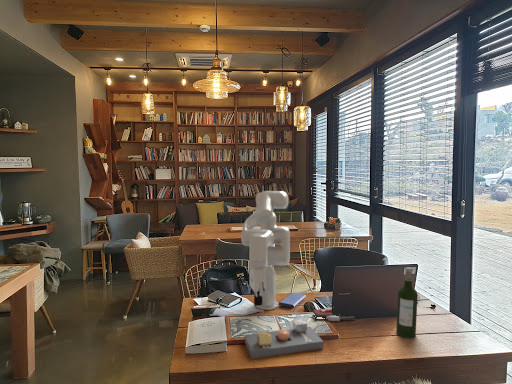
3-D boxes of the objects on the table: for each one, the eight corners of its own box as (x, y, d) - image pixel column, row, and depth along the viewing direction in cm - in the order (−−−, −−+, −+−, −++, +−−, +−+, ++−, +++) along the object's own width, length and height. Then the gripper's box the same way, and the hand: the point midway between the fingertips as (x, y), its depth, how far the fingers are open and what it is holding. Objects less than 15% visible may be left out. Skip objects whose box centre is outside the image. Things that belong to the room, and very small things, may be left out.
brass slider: (256, 341, 139) (256, 332, 139) (268, 339, 141) (268, 331, 140) (259, 346, 135) (259, 337, 135) (271, 344, 137) (271, 336, 136)
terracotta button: (275, 336, 145) (275, 330, 144) (286, 335, 146) (286, 328, 146) (279, 342, 140) (279, 335, 140) (290, 340, 141) (290, 334, 141)
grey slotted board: (244, 341, 145) (244, 334, 145) (309, 333, 153) (310, 326, 153) (252, 358, 133) (252, 350, 133) (323, 348, 141) (323, 340, 141)
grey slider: (292, 328, 150) (292, 320, 150) (303, 326, 152) (303, 319, 151) (296, 332, 146) (296, 324, 146) (306, 331, 148) (307, 323, 148)
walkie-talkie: (314, 322, 164) (355, 321, 166) (315, 313, 164) (356, 312, 165) (310, 314, 173) (349, 313, 175) (310, 306, 173) (349, 305, 174)
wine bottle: (413, 331, 156) (416, 266, 153) (417, 339, 148) (420, 271, 146) (395, 328, 158) (397, 264, 155) (397, 337, 150) (400, 270, 148)
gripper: (245, 258, 151) (245, 298, 153) (254, 269, 137) (254, 313, 139) (261, 257, 153) (261, 296, 155) (272, 267, 139) (271, 311, 141)
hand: (258, 304), depth 147 cm, fingers closed
